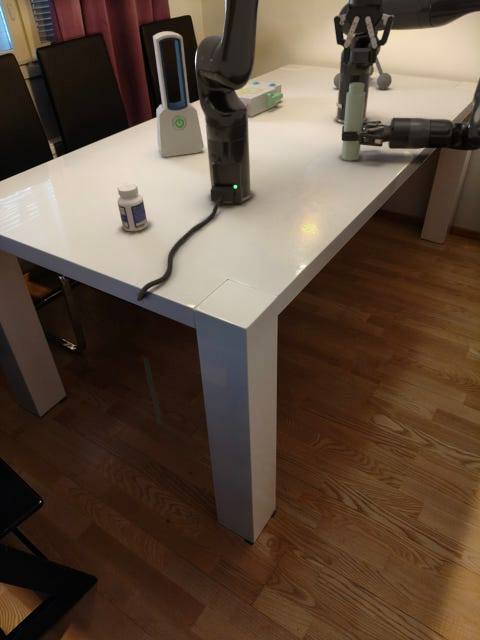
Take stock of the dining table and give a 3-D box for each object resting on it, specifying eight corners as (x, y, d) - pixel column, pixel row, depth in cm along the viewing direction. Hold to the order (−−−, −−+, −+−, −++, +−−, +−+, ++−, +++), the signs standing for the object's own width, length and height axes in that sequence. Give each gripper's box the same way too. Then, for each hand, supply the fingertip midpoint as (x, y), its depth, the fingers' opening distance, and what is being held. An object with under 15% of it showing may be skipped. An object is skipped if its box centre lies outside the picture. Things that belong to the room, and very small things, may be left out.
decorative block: (245, 78, 184) (291, 83, 175) (246, 96, 188) (291, 102, 178) (203, 94, 168) (250, 100, 159) (204, 113, 172) (251, 121, 162)
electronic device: (161, 157, 138) (144, 37, 120) (158, 149, 144) (140, 33, 126) (204, 151, 141) (193, 32, 122) (199, 144, 146) (188, 28, 128)
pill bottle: (149, 220, 107) (142, 181, 102) (146, 231, 103) (138, 191, 98) (125, 221, 107) (116, 182, 102) (121, 232, 103) (112, 193, 98)
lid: (358, 58, 120) (359, 47, 119) (374, 60, 117) (376, 49, 116) (344, 61, 118) (345, 50, 116) (361, 63, 115) (362, 52, 113)
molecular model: (320, 82, 200) (324, -5, 182) (368, 76, 205) (377, -10, 186) (347, 95, 182) (354, 0, 164) (399, 88, 187) (412, -5, 168)
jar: (352, 161, 129) (359, 87, 118) (338, 158, 132) (343, 84, 121) (362, 156, 132) (370, 83, 121) (347, 153, 135) (354, 81, 123)
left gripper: (331, -18, 107) (326, 67, 118) (398, -20, 103) (387, 69, 113) (339, -21, 113) (333, 61, 123) (403, -22, 108) (391, 63, 118)
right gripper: (409, 110, 129) (343, 110, 132) (414, 127, 118) (342, 126, 121) (404, 139, 133) (341, 138, 136) (409, 157, 122) (340, 156, 125)
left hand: (359, 64), depth 118 cm, fingers closed on lid, 5 cm apart
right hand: (342, 133), depth 128 cm, fingers closed on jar, 4 cm apart
